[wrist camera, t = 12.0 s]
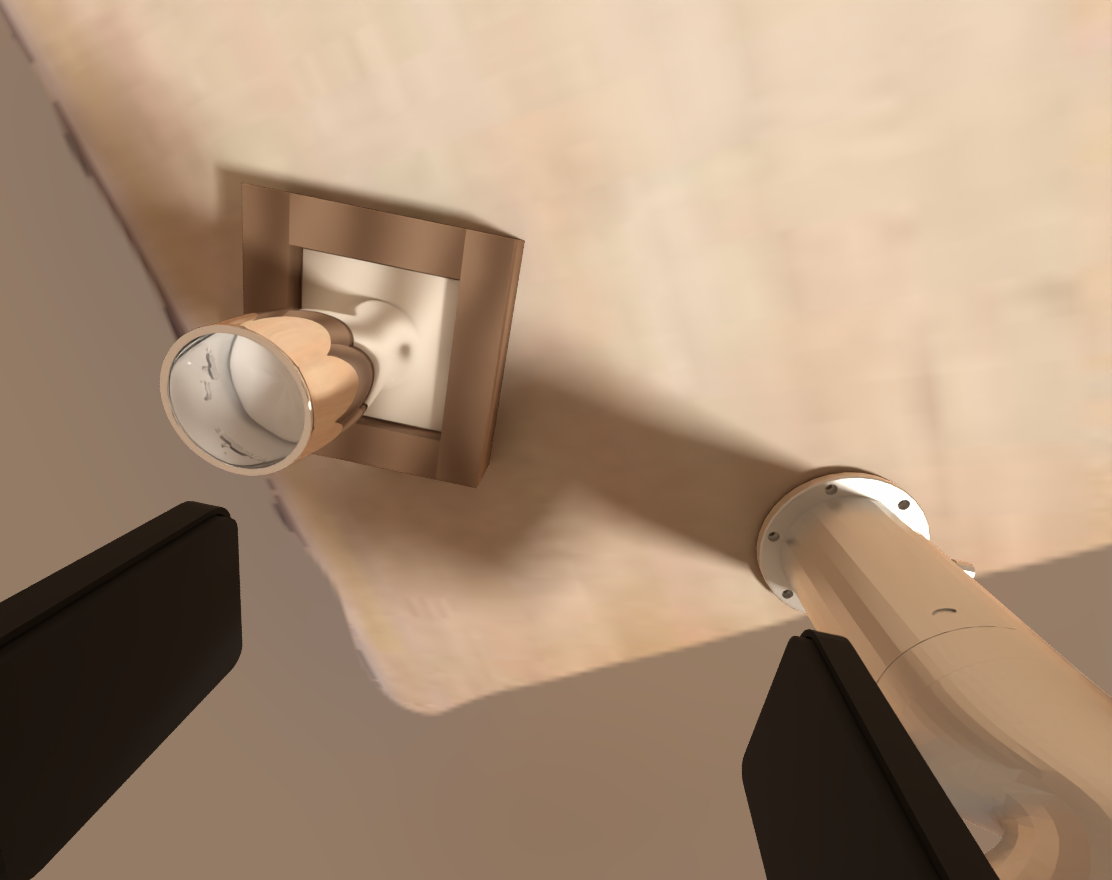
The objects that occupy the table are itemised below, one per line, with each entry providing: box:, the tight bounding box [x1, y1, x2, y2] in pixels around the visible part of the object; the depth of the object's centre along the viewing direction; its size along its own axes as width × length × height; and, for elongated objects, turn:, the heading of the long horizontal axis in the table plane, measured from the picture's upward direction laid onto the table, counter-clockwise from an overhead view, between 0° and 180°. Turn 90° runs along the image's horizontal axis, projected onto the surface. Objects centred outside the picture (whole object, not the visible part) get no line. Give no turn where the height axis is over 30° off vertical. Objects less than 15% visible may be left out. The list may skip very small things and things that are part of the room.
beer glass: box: [160, 300, 421, 476], centre depth 29 cm, size 7×7×15 cm
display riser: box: [242, 183, 525, 488], centre depth 37 cm, size 17×17×4 cm
